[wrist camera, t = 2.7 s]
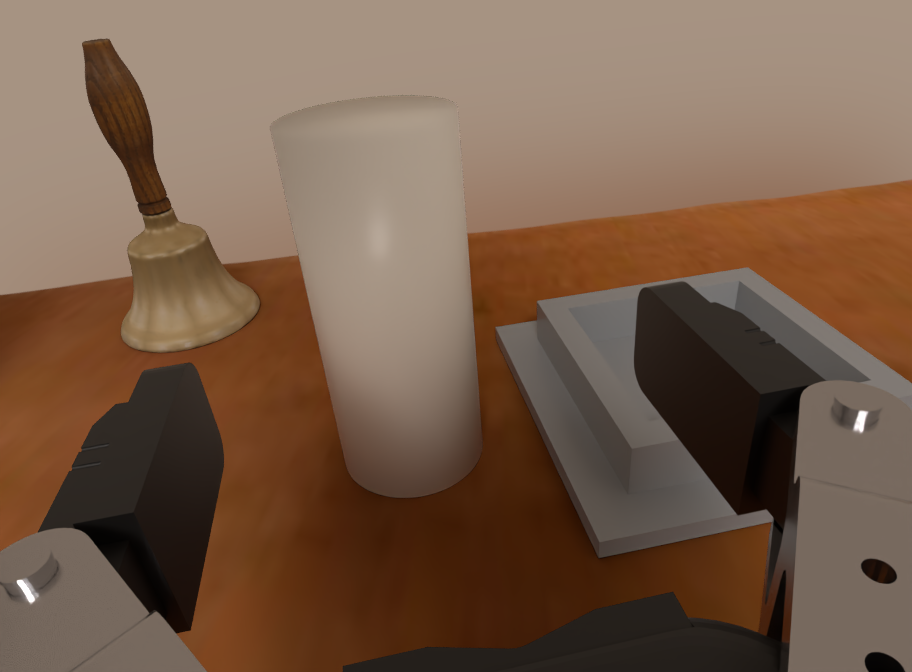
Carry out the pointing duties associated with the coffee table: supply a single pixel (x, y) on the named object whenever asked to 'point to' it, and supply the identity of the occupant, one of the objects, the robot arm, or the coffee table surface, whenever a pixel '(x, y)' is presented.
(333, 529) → the coffee table surface
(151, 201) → the hand bell
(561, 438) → the candle dish
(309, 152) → the candle
